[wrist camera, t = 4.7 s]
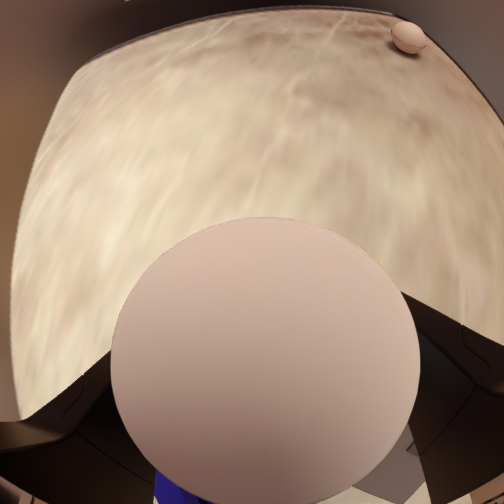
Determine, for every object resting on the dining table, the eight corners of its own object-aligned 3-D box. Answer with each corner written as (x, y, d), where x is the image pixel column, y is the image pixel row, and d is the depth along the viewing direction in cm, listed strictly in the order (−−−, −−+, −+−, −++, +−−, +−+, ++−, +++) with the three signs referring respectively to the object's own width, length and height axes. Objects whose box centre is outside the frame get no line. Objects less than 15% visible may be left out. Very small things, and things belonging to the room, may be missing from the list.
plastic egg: (385, 38, 29) (390, 12, 24) (416, 48, 28) (424, 23, 23) (393, 60, 27) (400, 30, 22) (428, 71, 26) (438, 43, 21)
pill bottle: (196, 342, 15) (26, 333, 4) (279, 265, 16) (261, 106, 5) (274, 424, 13) (245, 578, 2) (359, 345, 14) (515, 348, 3)
